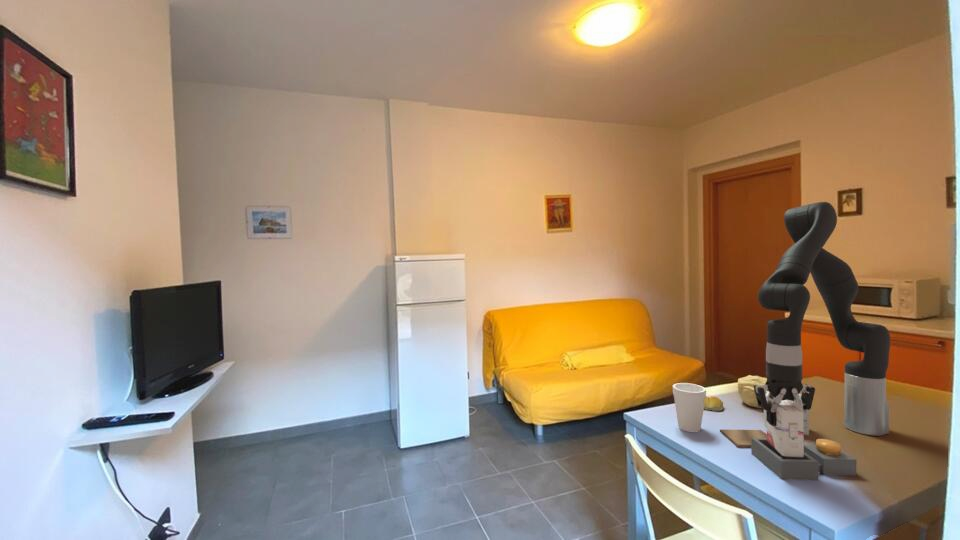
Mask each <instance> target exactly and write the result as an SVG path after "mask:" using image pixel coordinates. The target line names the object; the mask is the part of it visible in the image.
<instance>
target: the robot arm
mask: <svg viewBox="0 0 960 540" xmlns="http://www.w3.org/2000/svg"><path fill="white" fill-rule="evenodd" d="M783 223H784V226H785V229H786V231H787V234H788V235H789V237H790V238H791V239H792V242H793V243H794V244H793V245H791V246H790V247H789V248H788V249H787V250H786V251H785V252H784V253H783V254H782V255H781V258H780V261H779V262H778V265H777V268H776V269H775V271H774V272H773V273H772V274H771V275H770V276H769V278H767V279H766V280H765V282H763V284H762V285H761V287H760V288H759V290H758V292H757V300H758V301H757V302H758V303H759V305H760V306H761V308H763V309H766V310H769V311H781V312H782V311H783V312H789V315H788V316H787V317H786V318H785V317H784V318H776V319H771V320H768V321H767V325H766V347H765V377H766V378H767V381H766V383H765V385H760V386H758V385H754V391H755V395H756V399H757V403H758V406H759V407H761V408H760V409H763V411H764V410H766V417H767V418H766V420H767V422H769V424H770V425H772V426H776V412H775V411H776V408H777V406H778V405H780V403H781V401H782V400H789V401H790V403H791V402H792V403H796V396H797V397H798V398H799V395H798V394H802V395H801V400H802V405H803V411H804V410H806V409H807V410H809V411H810V410H811V409H812V406H813V400H814V398H815V397H814V396H815V392H816V388H815V387H813V386H811V385H809V384H807V383H805V384H803V383H802V382H803V381H802V380H803V350H802V326H803V322H804V316H805V314H806V311H807V310H808V306H809V304H810V300H811V293H810V291H809V289H808V288H807V287H806V286H805V284H806V283H808V282H807V281H808V279H809V278H810V277H809V276H810V275H811V277H812V279H813V283H814V284H815V287H816V288H817V291H818V293H819V294H820V297H821V298H822V300H823V303H824V306H825V307H826V309H827V312H828V314H829V317H830V321H831V322H832V326H833V330H834V333H835V336H836V338H837V341H838V342H839V344H840V345H841V347H843V348H844V349H846V350H848V351H854V352H858V353H863V358H862V360H857V361H856V360H855V361H848V362H846V363H845V364H844V401H843V403H844V404H843V409H844V411H843V426H844V427H845V429H848V430H850V431H852V432H855V433H858V434H862V435H868V436H875V437H876V436H878V437H879V436H884V435H887V434H890V402H889V401H887V400H886V398H887V396H886V395H887V394H886V393H887V390H886V388H887V384H886V383H887V381H886V380H887V371H888V368H889V362H890V351H891V350H890V349H891V336H890V335H891V334H890V331H889V329H888V328H887V327H886V326H884V325H882V324H878V323H871V322H864V321H863V322H862V321H858V320H857V319H855V316H854V315H853V312H852V308H851V307H852V305H853V303H854V301H855V299H856V297H857V294H858V292H859V283H858V281H857V279H856V276H855V274H854V272H853V270H852V268H851V266H850V265H849V264H848V263H847V262H846V261H844V260H843V259H841V258H839V257H838V256H837V255H835V254H834V253H831V252H830V251H828V250H826V249H825V248H823V247H824V246H825V245H826V243H827V241H828V240H829V238H830V237H831V235H832V234H833V232H834V231H835V229H836V227H837V226H836V225H837V223H838V215H837V212H836V209H835V208H834V206H833V205H832V204H831V203H830V202H828V201H827V202H826V201H818V202H814V203H810V204H806V205H800V206H796V207H793V208H792V207H791V208H789V209H787V210H786V211H785V212H784V214H783ZM767 389H768V391H769V394H768V397H767V400H766V396H765V394H766V393H767V392H766V390H767ZM774 398H775V399H774Z"/></svg>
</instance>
